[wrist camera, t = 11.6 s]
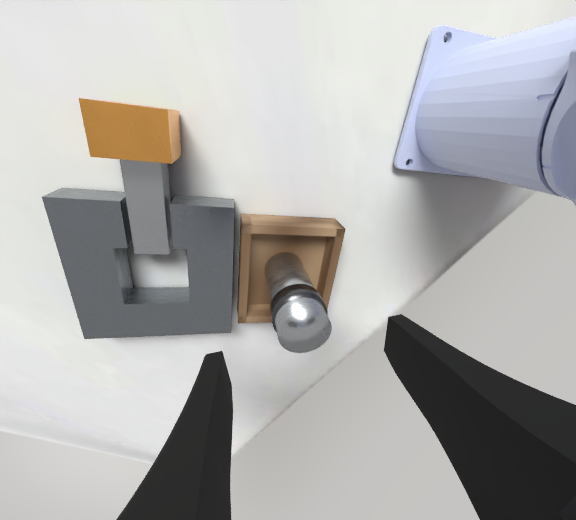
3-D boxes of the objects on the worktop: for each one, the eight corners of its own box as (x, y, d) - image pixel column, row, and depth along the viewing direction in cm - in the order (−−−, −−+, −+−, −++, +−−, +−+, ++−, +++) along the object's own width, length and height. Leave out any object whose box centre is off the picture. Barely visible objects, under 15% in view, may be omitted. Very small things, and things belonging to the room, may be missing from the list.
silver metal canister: (301, 245, 20) (331, 301, 14) (307, 281, 22) (336, 345, 16) (257, 256, 20) (269, 318, 14) (267, 291, 21) (281, 360, 15)
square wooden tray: (335, 218, 20) (345, 228, 18) (317, 304, 24) (324, 320, 22) (241, 213, 19) (242, 224, 17) (237, 306, 22) (238, 323, 21)
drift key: (107, 101, 14) (78, 98, 12) (178, 110, 15) (167, 109, 12) (130, 241, 18) (112, 263, 15) (186, 242, 19) (179, 264, 16)
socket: (62, 188, 16) (41, 196, 14) (234, 199, 18) (234, 208, 16) (96, 320, 20) (84, 338, 19) (231, 316, 23) (231, 332, 21)
